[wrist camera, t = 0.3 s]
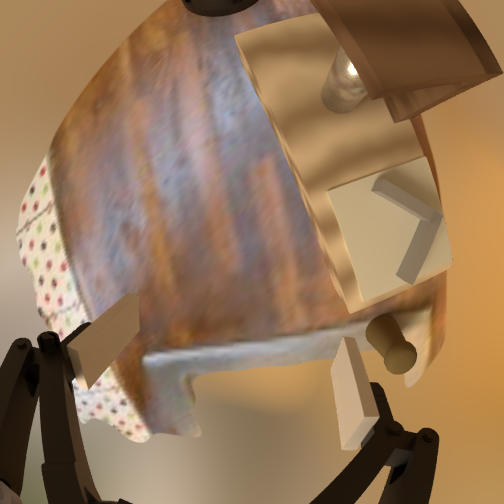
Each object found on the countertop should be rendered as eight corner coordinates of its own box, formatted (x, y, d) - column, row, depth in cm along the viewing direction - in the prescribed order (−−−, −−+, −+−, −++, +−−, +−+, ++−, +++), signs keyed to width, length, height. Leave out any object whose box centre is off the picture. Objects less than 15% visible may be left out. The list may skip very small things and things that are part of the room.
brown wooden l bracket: (293, 78, 28) (307, -22, 10) (378, 57, 26) (440, -21, 8) (325, 144, 29) (383, 89, 11) (409, 119, 27) (503, 73, 10)
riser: (243, 66, 37) (234, 35, 27) (333, 40, 34) (345, 8, 24) (334, 288, 42) (350, 313, 33) (420, 251, 40) (452, 266, 30)
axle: (321, 77, 27) (342, 25, 16) (357, 85, 27) (392, 39, 15) (318, 109, 28) (341, 66, 16) (355, 117, 28) (394, 81, 16)
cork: (380, 308, 43) (406, 339, 32) (402, 324, 43) (429, 355, 32) (358, 335, 44) (377, 371, 33) (381, 350, 44) (402, 385, 33)
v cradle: (326, 191, 30) (331, 191, 27) (424, 156, 28) (436, 154, 25) (362, 300, 32) (369, 310, 29) (451, 259, 30) (462, 264, 27)
